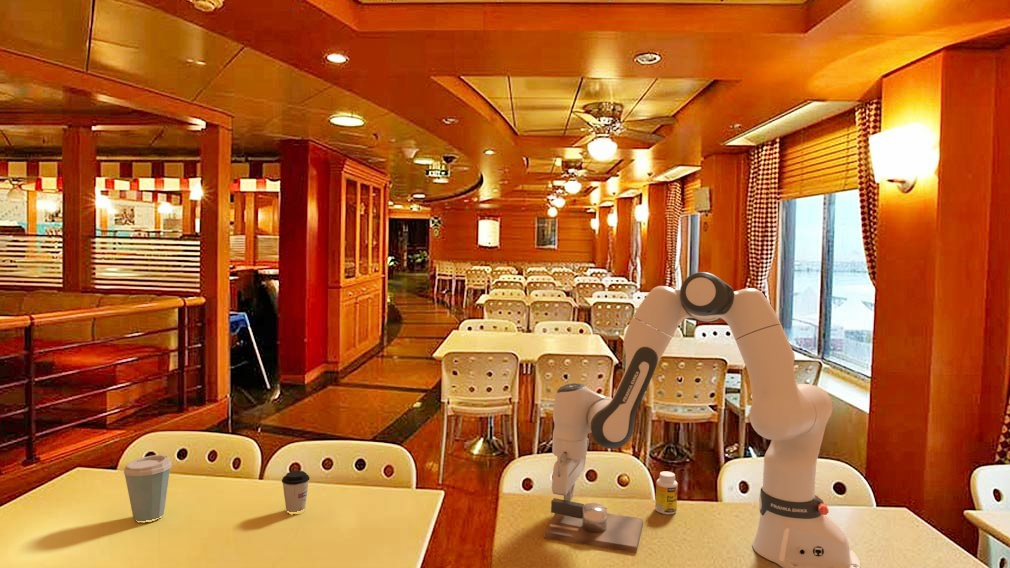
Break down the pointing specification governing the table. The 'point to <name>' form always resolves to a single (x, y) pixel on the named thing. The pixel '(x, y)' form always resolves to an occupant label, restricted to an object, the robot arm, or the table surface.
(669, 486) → the supplement bottle
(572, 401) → the robot arm
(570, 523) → the lock base
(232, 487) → the table surface
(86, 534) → the table surface
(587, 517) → the lever handle
